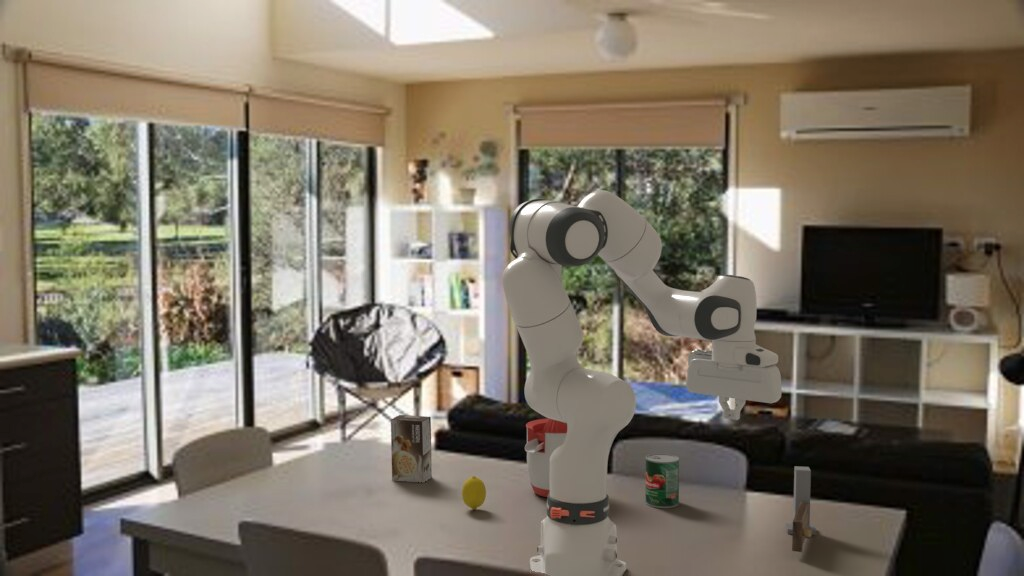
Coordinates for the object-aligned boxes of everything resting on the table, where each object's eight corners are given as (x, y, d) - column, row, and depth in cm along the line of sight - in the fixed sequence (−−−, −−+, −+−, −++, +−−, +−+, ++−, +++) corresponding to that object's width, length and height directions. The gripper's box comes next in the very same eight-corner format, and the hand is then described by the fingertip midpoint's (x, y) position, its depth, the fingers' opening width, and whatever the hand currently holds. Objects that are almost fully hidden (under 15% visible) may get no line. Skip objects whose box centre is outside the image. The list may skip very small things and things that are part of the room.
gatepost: (816, 535, 206) (818, 470, 205) (787, 533, 207) (789, 469, 205) (813, 529, 210) (815, 465, 208) (785, 527, 211) (786, 464, 209)
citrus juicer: (507, 493, 237) (507, 412, 235) (557, 480, 248) (558, 403, 246) (551, 507, 225) (551, 423, 223) (602, 493, 236) (603, 413, 235)
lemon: (482, 514, 220) (482, 479, 219) (459, 512, 221) (459, 478, 221) (488, 507, 226) (488, 473, 225) (465, 505, 227) (465, 472, 226)
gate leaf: (816, 531, 204) (817, 503, 203) (809, 553, 191) (810, 523, 190) (799, 529, 205) (800, 501, 204) (792, 550, 192) (792, 521, 191)
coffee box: (433, 477, 251) (432, 416, 250) (423, 483, 245) (423, 421, 244) (400, 474, 254) (399, 414, 252) (390, 480, 248) (389, 419, 246)
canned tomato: (683, 501, 230) (684, 456, 229) (671, 510, 223) (672, 463, 222) (652, 496, 234) (653, 451, 233) (639, 505, 227) (640, 459, 226)
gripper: (681, 349, 204) (679, 414, 205) (772, 359, 191) (770, 428, 192) (695, 346, 209) (694, 409, 210) (785, 356, 196) (783, 423, 197)
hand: (731, 418), depth 201 cm, fingers closed
